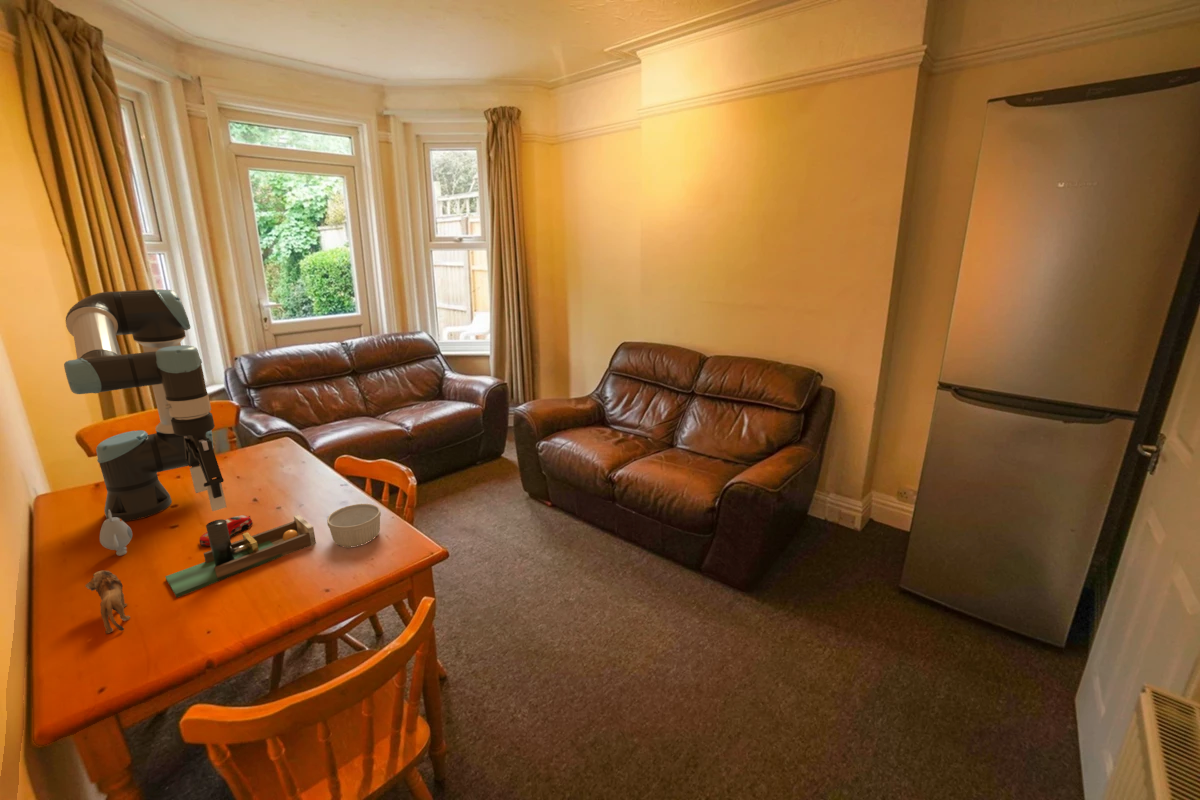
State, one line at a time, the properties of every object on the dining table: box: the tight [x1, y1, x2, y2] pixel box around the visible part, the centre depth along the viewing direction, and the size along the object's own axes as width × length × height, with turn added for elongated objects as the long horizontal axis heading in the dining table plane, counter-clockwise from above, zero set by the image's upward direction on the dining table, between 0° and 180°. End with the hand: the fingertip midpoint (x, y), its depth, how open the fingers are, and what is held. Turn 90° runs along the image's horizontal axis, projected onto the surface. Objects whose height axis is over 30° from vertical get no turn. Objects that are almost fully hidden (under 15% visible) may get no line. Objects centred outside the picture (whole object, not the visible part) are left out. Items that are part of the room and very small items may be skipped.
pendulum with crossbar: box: [205, 519, 259, 567], centre depth 131 cm, size 7×9×11 cm
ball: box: [283, 530, 298, 541], centre depth 141 cm, size 4×4×4 cm
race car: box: [199, 514, 254, 547], centre depth 145 cm, size 13×5×4 cm, turn 157°
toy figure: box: [99, 510, 133, 557], centre depth 135 cm, size 11×6×12 cm, turn 41°
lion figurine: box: [84, 569, 131, 634], centre depth 112 cm, size 15×5×9 cm, turn 52°
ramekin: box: [326, 503, 382, 548], centre depth 144 cm, size 13×13×7 cm
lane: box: [165, 514, 317, 598], centre depth 133 cm, size 10×30×5 cm, turn 139°
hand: (210, 499), depth 126 cm, fingers open, 13 cm apart
